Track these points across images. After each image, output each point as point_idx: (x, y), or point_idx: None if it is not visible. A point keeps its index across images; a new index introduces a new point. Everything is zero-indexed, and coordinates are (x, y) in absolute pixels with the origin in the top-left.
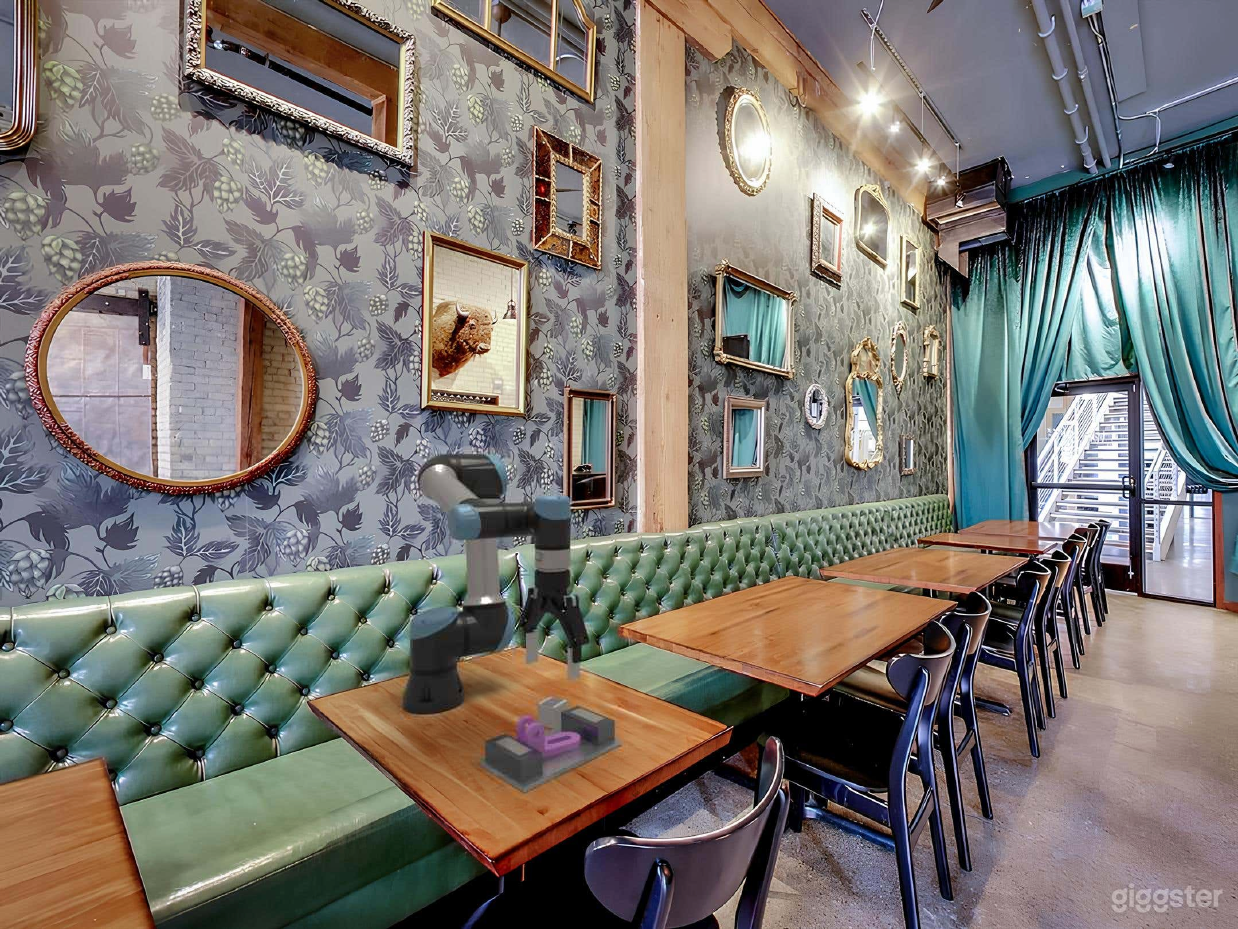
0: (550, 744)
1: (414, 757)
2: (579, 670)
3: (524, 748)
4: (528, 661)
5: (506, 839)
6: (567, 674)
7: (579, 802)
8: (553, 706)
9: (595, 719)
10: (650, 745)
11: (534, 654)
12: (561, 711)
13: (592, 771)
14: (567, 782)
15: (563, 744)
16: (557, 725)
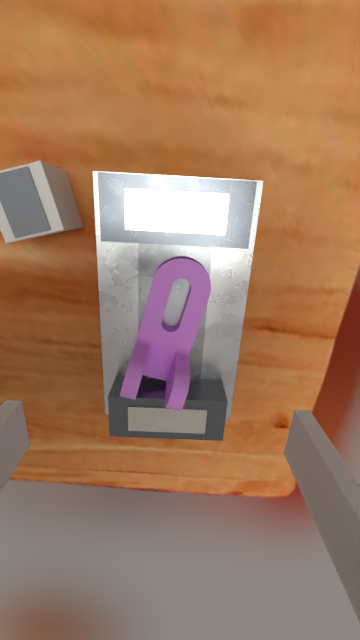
0: (177, 331)
1: None
2: (322, 433)
3: (192, 415)
4: (24, 453)
5: (284, 476)
6: (291, 469)
7: (313, 382)
8: (52, 225)
9: (213, 219)
10: (320, 130)
11: (4, 445)
12: (61, 197)
13: (275, 307)
14: (261, 357)
15: (199, 315)
16: (78, 217)
